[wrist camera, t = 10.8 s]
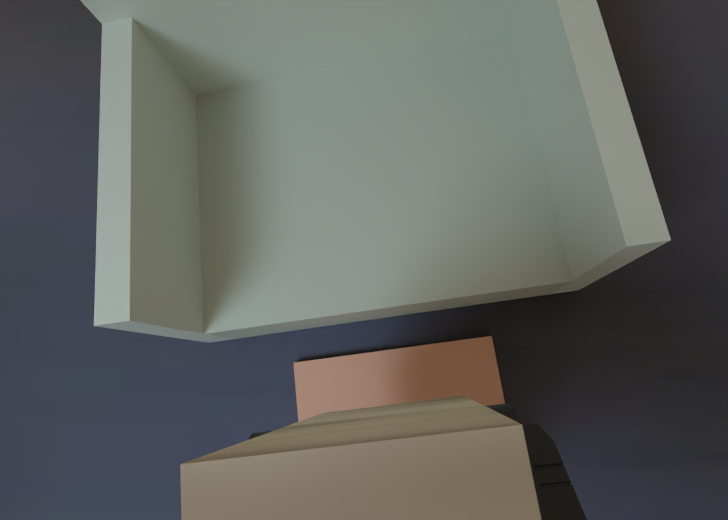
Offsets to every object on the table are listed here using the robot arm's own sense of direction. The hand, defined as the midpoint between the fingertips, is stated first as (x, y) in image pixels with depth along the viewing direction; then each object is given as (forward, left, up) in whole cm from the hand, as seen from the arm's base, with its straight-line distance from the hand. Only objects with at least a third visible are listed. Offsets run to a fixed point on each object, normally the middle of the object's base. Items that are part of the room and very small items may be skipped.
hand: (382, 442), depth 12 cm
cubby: (-10, +4, -9) cm, 14 cm away
